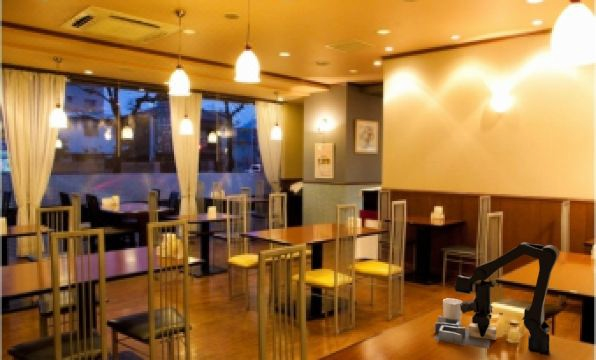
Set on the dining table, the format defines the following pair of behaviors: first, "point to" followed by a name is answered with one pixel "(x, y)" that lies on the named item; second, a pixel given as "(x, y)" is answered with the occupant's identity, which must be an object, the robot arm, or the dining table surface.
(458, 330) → the end cap
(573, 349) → the dining table surface
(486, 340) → the mat
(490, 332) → the wooden block
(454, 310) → the white cup
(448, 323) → the end cap
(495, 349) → the dining table surface
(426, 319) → the dining table surface
